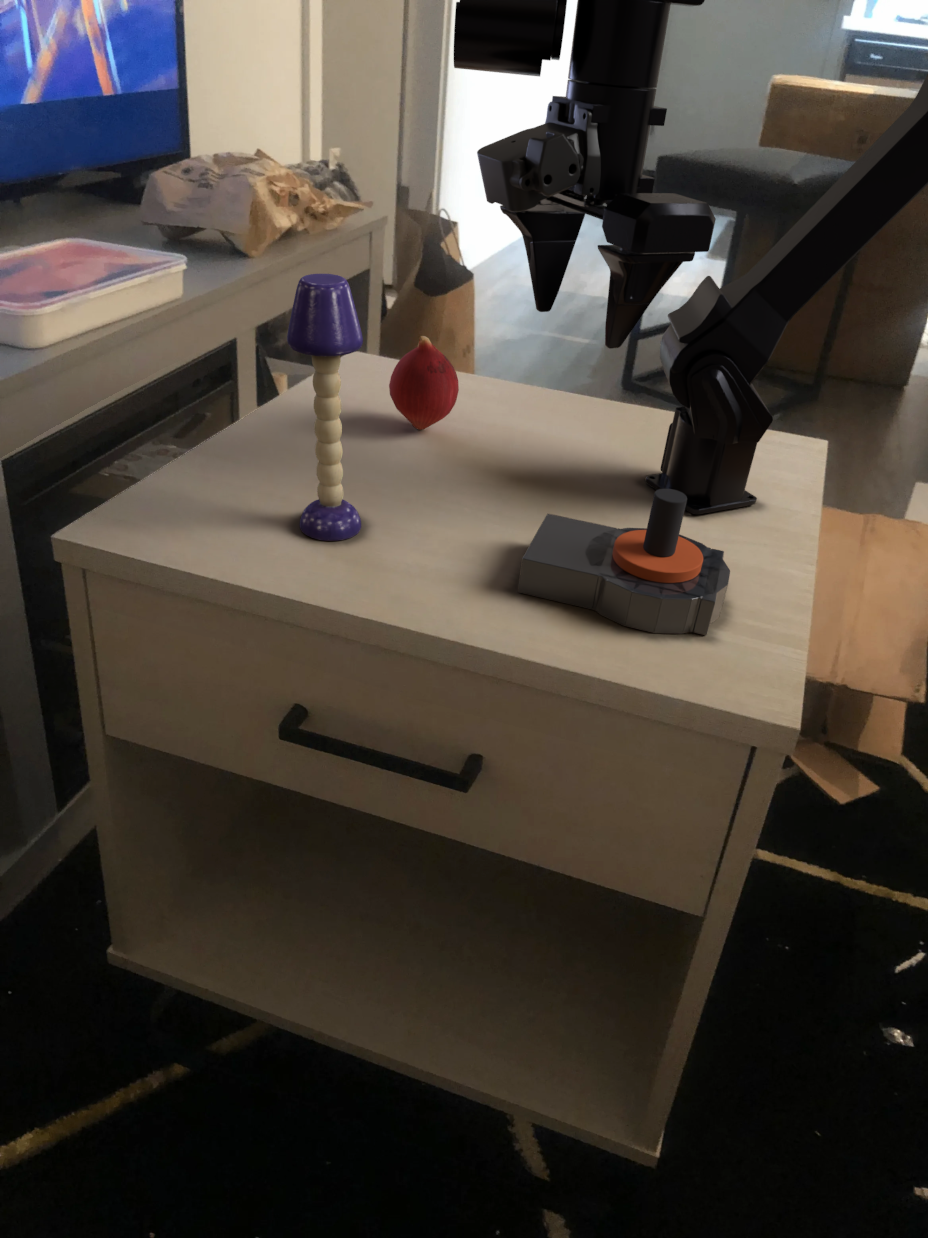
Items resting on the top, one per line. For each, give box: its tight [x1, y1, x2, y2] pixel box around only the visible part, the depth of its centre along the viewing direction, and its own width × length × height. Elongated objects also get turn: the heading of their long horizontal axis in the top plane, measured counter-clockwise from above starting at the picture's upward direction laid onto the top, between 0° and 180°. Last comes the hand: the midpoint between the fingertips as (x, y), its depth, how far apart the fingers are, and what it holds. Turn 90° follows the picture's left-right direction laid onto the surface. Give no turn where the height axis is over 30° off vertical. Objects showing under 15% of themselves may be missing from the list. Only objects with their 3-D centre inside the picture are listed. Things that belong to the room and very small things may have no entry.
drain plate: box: [517, 513, 731, 636], centre depth 61 cm, size 13×9×2 cm
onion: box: [388, 335, 460, 431], centre depth 80 cm, size 6×6×8 cm
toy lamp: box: [286, 273, 364, 542], centre depth 61 cm, size 5×5×17 cm
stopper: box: [613, 489, 703, 583], centre depth 59 cm, size 6×6×7 cm
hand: (576, 328), depth 69 cm, fingers open, 9 cm apart
